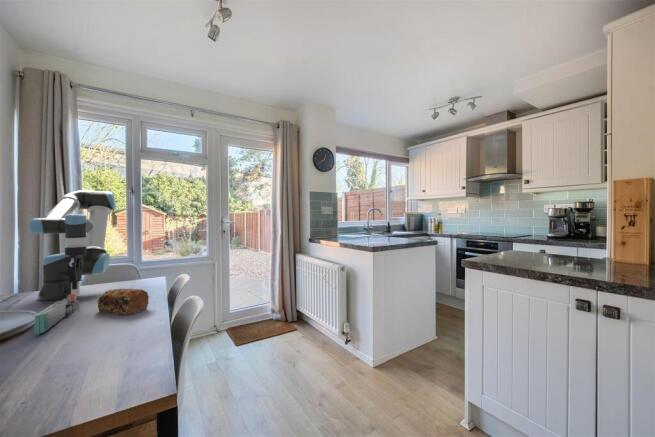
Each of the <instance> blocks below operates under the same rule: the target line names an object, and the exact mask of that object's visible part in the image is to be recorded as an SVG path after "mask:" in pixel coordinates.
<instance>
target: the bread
mask: <svg viewBox="0 0 655 437" xmlns="http://www.w3.org/2000/svg"><path fill="white" fill-rule="evenodd" d="M148 305H149V293H148V292H147V291H145V290H144V289H141V288H140V289H138V288H115V289H111V290H107V291H105V292H104V293H103V294H101V295H100V296H99V297H98V300H97V308H98V311H99V313H104V314H112V315H118V316H119V315H121V316H130V315H134V314H137V313H141V312H143V311H146V310H147V309H148Z"/></svg>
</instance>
